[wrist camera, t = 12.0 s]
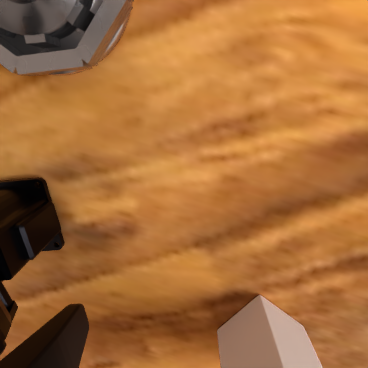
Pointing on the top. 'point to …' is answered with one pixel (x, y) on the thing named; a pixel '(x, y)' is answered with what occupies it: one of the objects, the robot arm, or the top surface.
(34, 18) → the grey cylinder with base
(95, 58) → the grey octagonal ring
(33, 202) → the robot arm
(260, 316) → the milk
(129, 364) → the top surface
